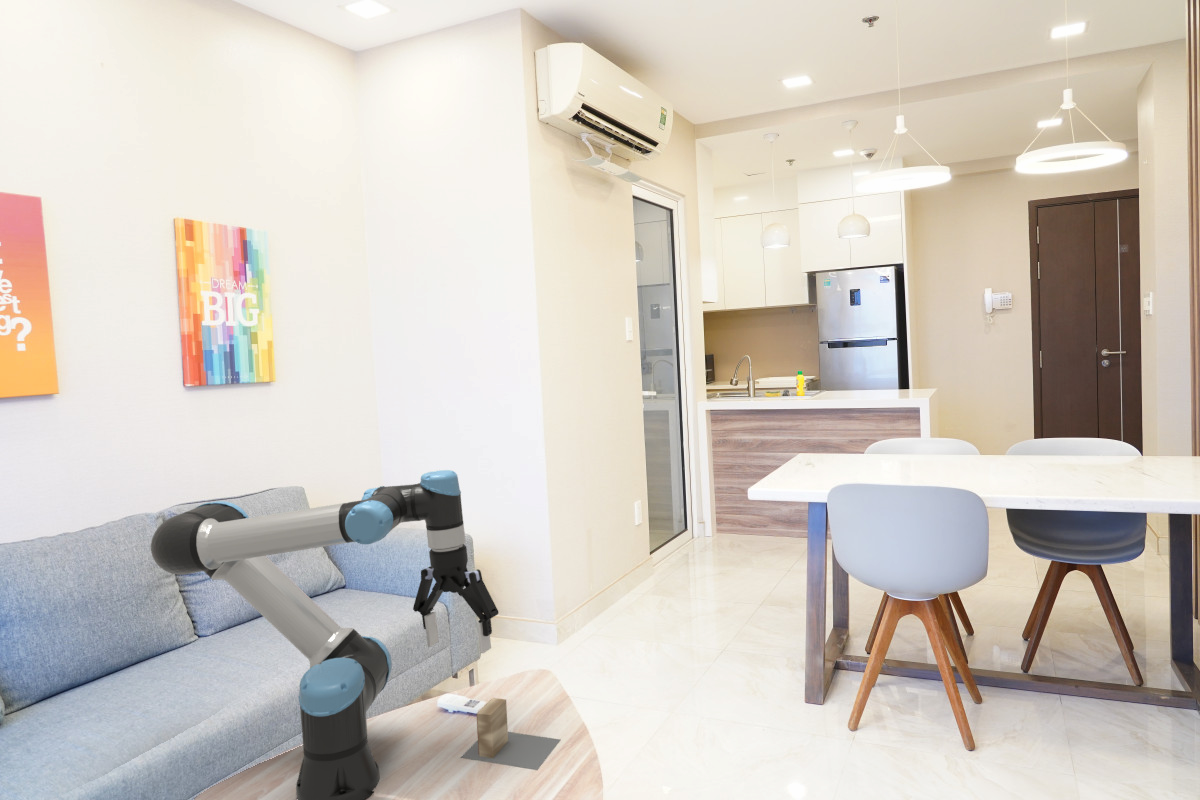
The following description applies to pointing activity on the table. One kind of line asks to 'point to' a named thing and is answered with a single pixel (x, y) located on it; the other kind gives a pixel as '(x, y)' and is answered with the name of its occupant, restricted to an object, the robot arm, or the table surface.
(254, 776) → the table surface
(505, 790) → the table surface
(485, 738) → the brown wooden block
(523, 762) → the mat
